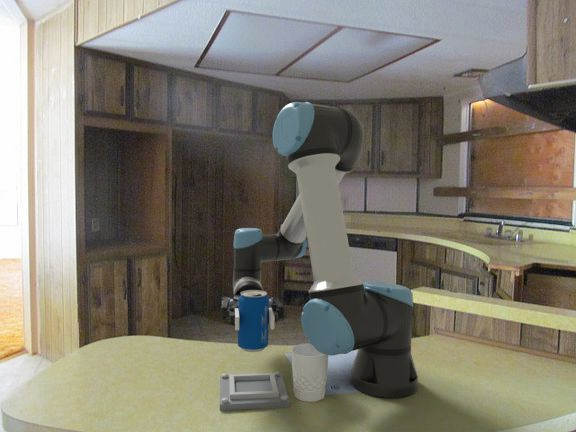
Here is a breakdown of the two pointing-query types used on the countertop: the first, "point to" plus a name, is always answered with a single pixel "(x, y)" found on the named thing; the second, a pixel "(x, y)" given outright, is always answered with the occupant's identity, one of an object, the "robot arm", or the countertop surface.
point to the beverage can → (253, 320)
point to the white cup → (309, 372)
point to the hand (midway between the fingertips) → (255, 323)
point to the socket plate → (252, 391)
